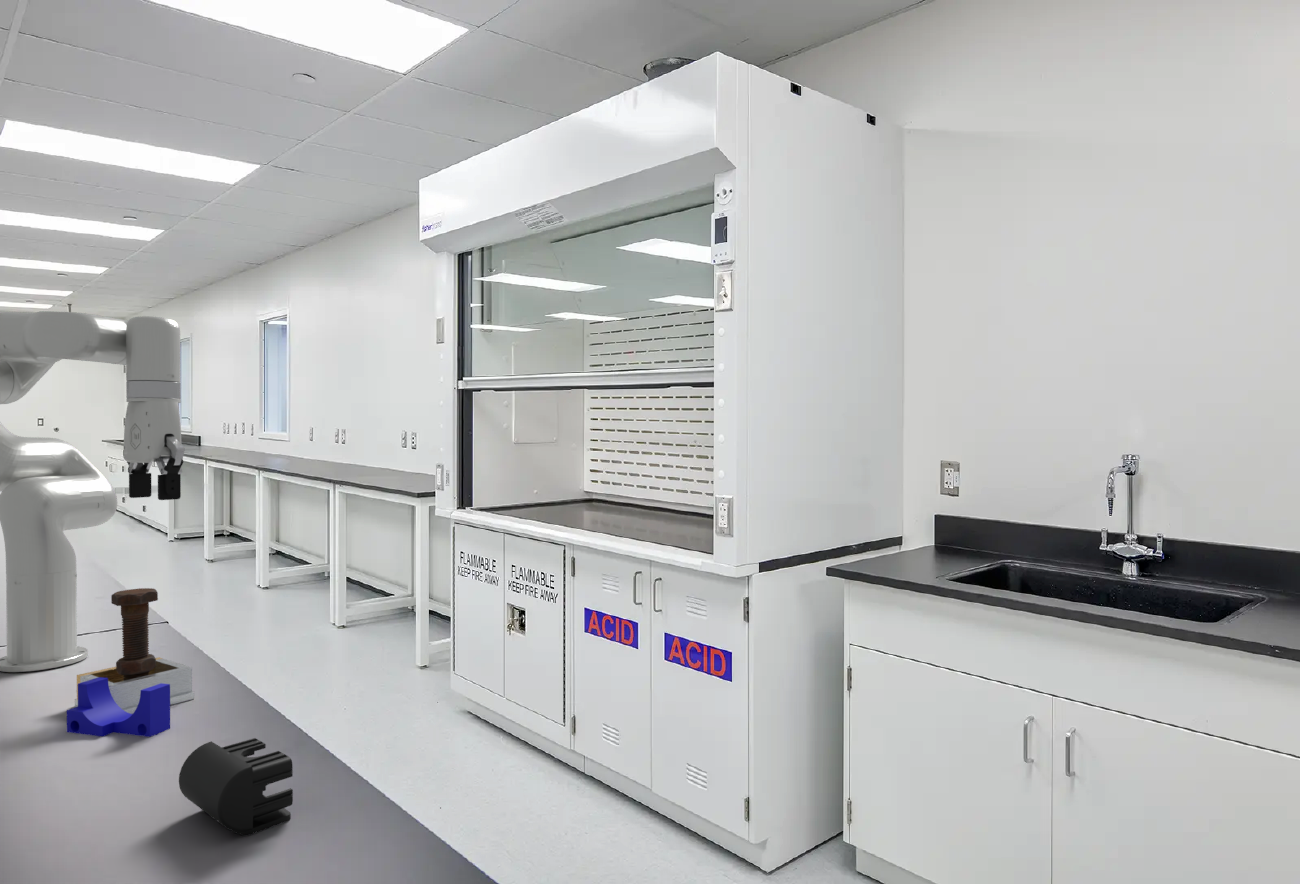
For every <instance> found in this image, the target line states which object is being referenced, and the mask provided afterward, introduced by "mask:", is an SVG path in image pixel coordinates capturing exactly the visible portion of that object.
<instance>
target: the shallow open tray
mask: <svg viewBox="0 0 1300 884" xmlns="http://www.w3.org/2000/svg"><path fill="white" fill-rule="evenodd" d="M155 658H156V667H155V668H154V669H152V670H151V671H149V675H147V676H143V677H138V678H134V679H130V680H125V681H124V679H123V678H124V677H123V676H124V675H120V674H119V673H118V672H117V670H116V666H112V667H108V668H104V669H103V668H102V669H98V670H93V671H88V672H84V673H80V674H76V698H75V699H74V707H78V683H82V682H85V681H88V680H92V679H95V678H98V677H103V678H108V685H109V689H110V693H111V695H112V697H113V699H114V701H115V702H116V704H117V705H118V706H119V707H120V708H121V709H122V710H124V711H125V712H127V713H130V714H133V713H134V712H135V710H136V708H137V706H138V704H139V700H140V694H141V690H143V689H146V688H149V687H152V686H155V685H158V684H160V683H163V684H170V706H172V705H175V704H180V703H182V702H187V701H191V700H194V699H195V691H193V667H192V666H189V665H186V664H181V663H180V662H179V663H178V662H176V661H172V660H169V659H166V658H162V657H155Z"/></svg>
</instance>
